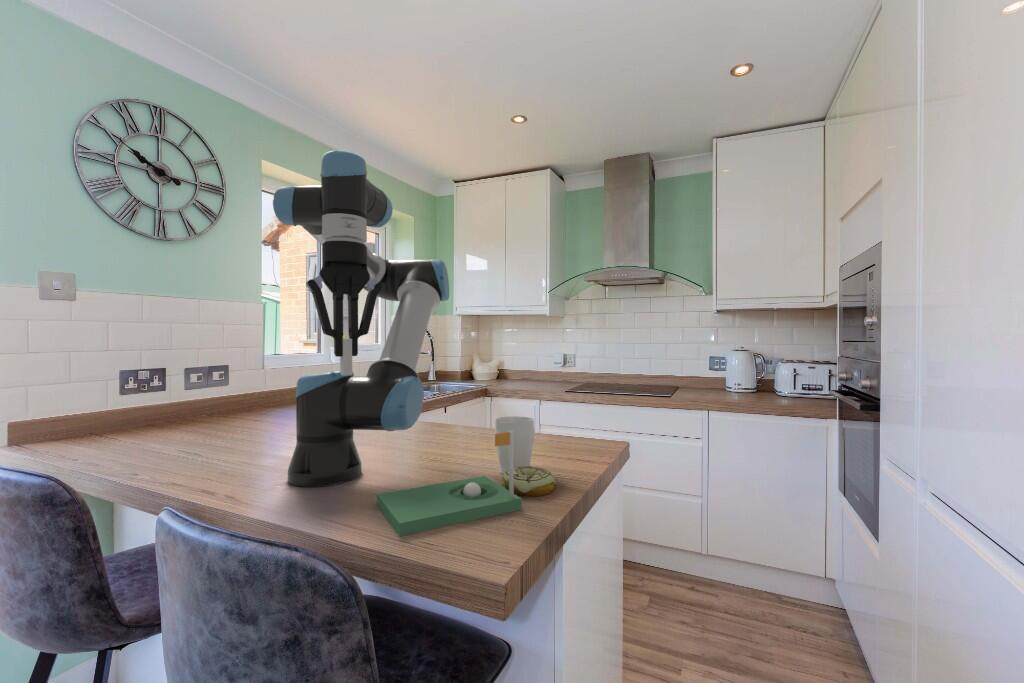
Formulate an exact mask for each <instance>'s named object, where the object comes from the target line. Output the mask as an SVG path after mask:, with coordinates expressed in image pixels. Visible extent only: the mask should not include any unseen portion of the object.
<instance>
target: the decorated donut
mask: <svg viewBox="0 0 1024 683" xmlns="http://www.w3.org/2000/svg"><path fill="white" fill-rule="evenodd" d="M501 478H502V479H501V480H502V482H503V485H504V486H503V487H504V488H505V489H507V490H509V470H507V471H505V472H504V473H503V474H502V477H501ZM555 485H556V477H555V475H554V474H553V473H552V472H551V471H549V470H547V469H545V468H543V467H538V466H531V465H530V466H520V467H516V468H514V494H515V495H522V496H527V497H536V496H537V497H539V496H546V495H549V494H550V493H551V492H552V491H553V490H554V488H555Z"/></svg>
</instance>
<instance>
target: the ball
mask: <svg viewBox="0 0 1024 683" xmlns="http://www.w3.org/2000/svg"><path fill="white" fill-rule="evenodd" d="M463 494H464V495H465V496H480V495H481V488H480V486H479V485H478V484H477V483H474V482H472V483H468V484H467V485H466V486H465V487H464V490H463Z"/></svg>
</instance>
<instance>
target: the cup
mask: <svg viewBox="0 0 1024 683" xmlns="http://www.w3.org/2000/svg"><path fill="white" fill-rule="evenodd" d="M494 423H495V424H494V425H495V426H494V435H495V434H496V433H504V432H509V431H514V468H516V467H520V466H531V460H532V453H533V445H534V440H535V438H534V437H535V422H534V419H533V418H531V417H526V416H518V415H517V416H516V415H515V416H514V415H513V416H500V417H497V418H496V419H495V422H494ZM496 452H497V459H498V460H497V461H498V464H499V465H498V466H499V473H500V474H502V475H503V473H504V472H505V471H507V470H509V445H503V446H496Z"/></svg>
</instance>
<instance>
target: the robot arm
mask: <svg viewBox="0 0 1024 683" xmlns="http://www.w3.org/2000/svg"><path fill="white" fill-rule="evenodd" d="M319 175H320V182H321V183H320V184H321V185H293V186H283V187H279V188H278V189H277V190H276V191H275V192H274V194H273V200H272V209H273V211H274V212H273V213H274V214H275V216H276V219H277V220H278V221H279V222H280V223H281V224H283V225H286V226H293V227H297V226H301V227H302V228H303V229H304V230H305V231H306V232H308V234H310V235H311V236H312V237H313V238H314V239H315V240H316V241H317V242H318V243H319V244H321V253H322V254H321V256H322V257H321V260H322V261H321V262H322V265H321V266H322V267H321V269H320V270H319V275H317V276H316V277H314V278H312V279H309V280H307V281H306V282H305V285H306V287H307V288H308V290H309V292H310V293H311V294H312V298H313V301H314V305H315V309H316V311H317V316H318V320H319V323H320V327H321V330H322V333H323V335H326V336H328V337H331V338H333V352H334V353H333V354H334V356H335V357H339V359H340V361H339V362H340V366H339V367H340V368H339V370H337V371H329V372H323V373H316V374H309V375H303V376H301V377H300V378H299V379H298V380H297V381H296V387H295V388H296V390H295V396H294V398H295V415H296V416H295V421H296V424H295V427H296V430H295V431H296V445H295V447H294V451H293V453H292V457H291V460H290V463H289V464H288V468H287V482H288V483H289V484H291V485H292V486H293V485H294V486H296V487H306V488H307V487H310V488H311V487H312V488H313V487H314V488H315V487H325V486H334V485H338V484H342V483H347V482H349V481H352V480H354V479H356V478H358V477H359V476H361V475H362V474H363V473H362V461H361V458H360V455H359V453H358V452H359V451H358V449H357V446H356V443H355V441H354V440H355V439H354V430H355V431H387V432H395V431H405V430H408V429H411V428H412V427H413V426H414V425H415V424H416V423H417V422H418V420H419V417H420V415H421V412H422V409H423V405H424V402H423V400H424V397H425V389H424V385H423V384H424V383H423V382H422V380H421V379H420V377H419V374H418V372H417V371H416V370H417V365H418V362H419V358H420V355H421V352H422V347H423V344H424V340H425V335H426V333H427V329H428V326H429V321H430V318H431V315H432V313H433V312H434V311H436V310H437V309H438V307H439V305H440V302H445V301H448V300H449V299H450V298H449V297H450V283H449V282H450V281H449V275H448V268H447V266H446V263H445V262H444V261H443V260H442V259H432V258H429V259H385V258H383V257H382V256H380V255H379V254H377V253H374V252H373V251H372V250H371V249H370V248H369V247H368V245H366V243H367V241H368V239H367V238H368V233H367V232H368V230H367V227H368V228H369V227H371V228H376V229H377V228H381V227H383V226H385V225H386V224H387V223H389V222H390V220H391V219H392V215H393V210H394V208H393V204H392V201H391V199H390V198H389V197H388V195H387V194H386V193H385V192H384V191H383V190H382V189H380V188H378V187H377V186H376V185H375V184H373V183H372V182H371V181H370V180H369V179H368V178H367V175H368V170H367V164H366V160H365V159H364V157H363V156H362V155H360V154H357V153H356V152H352V151H348V150H331V151H327V152H325V153H324V154H323V155H322V157H321V169H320V174H319ZM323 284H324V285H325V286H326V287H327V289H328V290H329V291H330V293H332V302H333V303H332V304H333V305H332V309H333V310H332V313H333V314H332V315H333V316H332V317H333V319H332V320H333V321H332V322H333V325H331V320H330V317H329V313H328V309H327V306H326V303H325V297H324V294H323V291H322V289H323ZM362 290H364V291H366V292H367V295H366V298H365V303H364V307H363V309H362V310H363V311H362V314H361V320H360V324H359V294H360V293H361V291H362ZM344 295H346V296H347V297H346V298H347V312H348V313H347V319H348V320H347V322H348V327H347V328H348V334H347V335H348V338H343V337H344ZM377 297H378V298H381V299H383V300H387V301H391V302H399V303H398V305H397V309H396V312H395V314H394V318H393V320H392V323H391V326H390V329H389V331H388V335H387V338H386V340H385V343H384V345H383V348H382V351H381V354H380V357H379V359H378V360H376V361H375V362H373V363H372V364H371V365H370V366H369V368H368V370H367V373H366V375H364V376H363V375H361V376H359V375H358V376H355V374H354V372H353V357H357V356H358V354H359V343H358V342H359V338H360V337H361V336H366V335H368V334H369V331H370V326H371V323H372V319H373V314H374V309H375V306H376V303H377ZM332 326H333V328H332Z"/></svg>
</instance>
